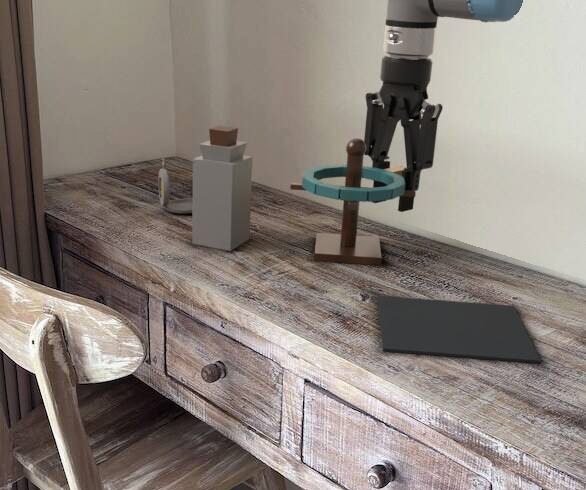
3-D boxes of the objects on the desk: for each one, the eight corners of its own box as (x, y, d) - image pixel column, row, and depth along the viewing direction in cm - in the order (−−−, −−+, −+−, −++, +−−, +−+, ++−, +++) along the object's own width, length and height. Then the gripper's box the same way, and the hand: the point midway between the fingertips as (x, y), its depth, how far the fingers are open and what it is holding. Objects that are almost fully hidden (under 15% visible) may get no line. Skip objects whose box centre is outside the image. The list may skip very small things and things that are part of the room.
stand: (403, 237, 135) (415, 129, 128) (412, 278, 117) (427, 156, 111) (290, 229, 136) (296, 122, 130) (283, 268, 119) (289, 148, 112)
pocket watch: (210, 210, 145) (211, 155, 141) (175, 220, 139) (175, 162, 135) (178, 200, 150) (178, 147, 146) (143, 209, 144) (142, 153, 140)
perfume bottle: (212, 231, 134) (214, 122, 127) (249, 238, 131) (253, 127, 124) (192, 243, 128) (193, 129, 121) (230, 251, 125) (233, 134, 119)
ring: (409, 176, 131) (410, 166, 130) (418, 205, 115) (419, 194, 115) (305, 169, 132) (305, 160, 132) (300, 197, 117) (300, 187, 116)
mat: (513, 308, 108) (513, 305, 108) (540, 363, 94) (540, 360, 93) (377, 298, 110) (377, 295, 110) (382, 351, 95) (383, 348, 95)
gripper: (347, 50, 126) (335, 195, 134) (439, 64, 113) (420, 224, 122) (380, 48, 130) (367, 189, 139) (472, 61, 117) (451, 216, 126)
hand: (392, 205), depth 130 cm, fingers open, 5 cm apart
